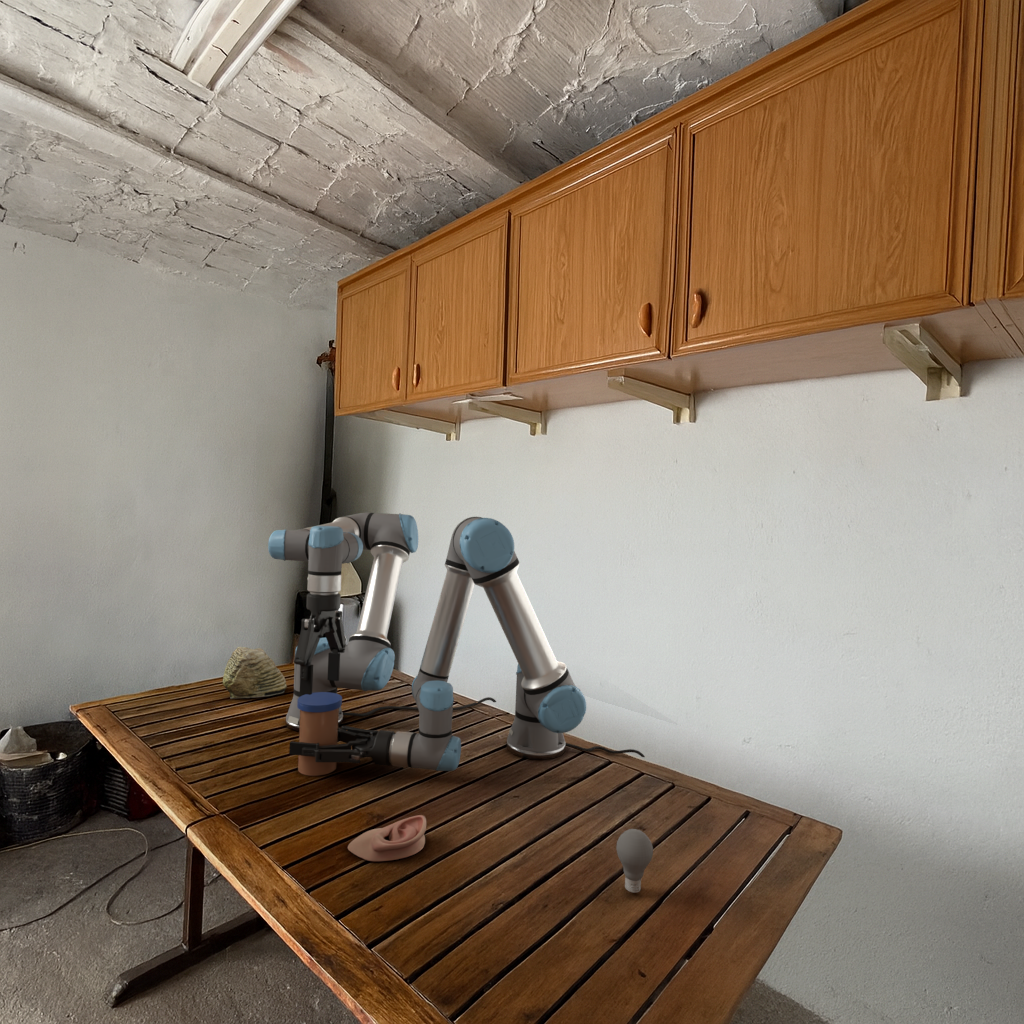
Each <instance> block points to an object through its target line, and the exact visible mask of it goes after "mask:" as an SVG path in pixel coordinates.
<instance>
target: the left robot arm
mask: <svg viewBox="0 0 1024 1024" xmlns="http://www.w3.org/2000/svg"><path fill="white" fill-rule="evenodd" d="M267 546H268V547H267V549H268V553H269V556H270V557H271V558H272V559H274V560H281V561H297V562H307V563H308V567H307V586H306V587H307V589H306V590H307V591H308V593H307V594H306V609H307V610H308V611H310V616H309V618H302V619H301V628H300V633H299V638H298V642H297V645H296V647H295V652H294V653H295V654H294V659H293V664H294V672H293V695H292V696H293V697H292V699H291V702H290V704H289V708H288V711H287V713H286V715H285V726H286V728H287V729H289V730H291V731H294V732H295V731H296V732H299V725H300V709H298V707H297V703H298V698H299V697H300V696H302V695H305V694H309V695H311V694H312V693H315V692H331V693H336V694H338V689H346V690H357V691H364V692H368V691H370V692H371V691H373V692H374V691H375V692H377V691H381V690H383V689H384V688H385V686H387V685H388V683H389V681H390V680H391V677H392V674H393V671H394V667H395V659H396V655H395V651H394V650H393V649H392V648H391V642H390V641H389V639H388V633H389V628H390V625H391V619H392V614H393V610H394V605H395V601H396V595H397V590H398V585H399V581H400V578H401V577H400V576H401V572H402V566H403V564H404V563H406V562H407V561H408V560H409V558H410V554H415V553H416V552H417V551H418V547H419V529H418V524H417V520H416V518H415V517H414V516H413V515H410V514H404V513H387V512H386V513H384V512H360V513H354V514H350V515H345V516H344V515H343V516H340V517H337V518H335V519H334V520H333V521H332V522H328V523H323V524H319V525H314V526H309V527H305V528H299V529H276V530H274V531H273V532H272V533H271V534H270V536H269V538H268V542H267ZM363 550H365V551H370V554H371V555H372V557H373V561H372V565H371V569H370V573H369V577H368V582H367V586H366V589H365V594H364V598H363V603H362V607H361V611H360V616H359V621H358V624H357V629H356V632H355V633H353V634H352V635H350V636H349V638H348V641H347V643H346V637H345V636H346V635H345V629H344V623H343V611H342V610H340V609H341V594H340V592H341V591H342V570H343V569H342V568H343V564H351V563H353V562H354V561H357V560H358V559H360V557H361V555H362V554H363ZM324 636H325V637H324ZM486 701H491V702H493V703H497V700H496V698H493V697H490V696H489V697H484V698H482V699H480V700H478V701H474V702H472V703H468V704H465V705H461V706H456V707H454V706H453V712H454V711H459V710H466V709H468V708H472V707H475V706H478V705H480V704H482V703H484V702H486ZM476 702H478V703H476ZM384 710H402V711H404V710H405V711H406V710H407V711H419V710H418V707H417V706H401V705H400V706H398V705H385V706H380V707H375V708H373V709H371V710H369V711H367V712H363V713H362V712H361V713H357V712H346V711H345V712H343V709H342V706H341V707H339V720H338V727H339V726H340V725H342V723H343V722H344V716H345V717H347V716H348V717H357V718H361V717H362V718H363V717H368V716H370V715H372V714H374V713H377V712H379V711H384Z"/></svg>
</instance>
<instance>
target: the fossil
mask: <svg viewBox="0 0 1024 1024" xmlns="http://www.w3.org/2000/svg"><path fill="white" fill-rule="evenodd" d="M222 676H223V677H222V685H223V687H224V688H225V690H226V691H228V693H229V698H230V699H250V698H264V697H271V696H275V695H281V694H284V693H285V691H286V689H287V687H288V686H287V680H286V678H285V676H284V674H283V673H282V672H281V669H279V668H278V667H277V665H276V663H275V662H274V660H273V659H272V658H271V657H270V656H269V655H268V654H267V653H266V652H265V650H264V649H263V648H260V647H258V648H251V647H247V646H246V647H245V646H238V647H237V648H236V649H235V650H233V651H232V653H231V656H230V657H229V659H228V660H227V663H226V666H225V668H224V671H223V675H222Z"/></svg>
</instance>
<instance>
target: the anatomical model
mask: <svg viewBox="0 0 1024 1024" xmlns="http://www.w3.org/2000/svg"><path fill="white" fill-rule="evenodd" d="M426 830H427V818H426V816H425V815H422V814H419V815H418V814H417V815H413V816H409V817H406V818H403V819H400V820H398V821H396V822H394V823H391V824H389V825H386V826H384V827H379V828H374V829H370V830H367V831H365V832H363V833H362V834H360V835H358V836H357V837H355V838H354V839H352V840H351V841H350V842H349V843H348V845H347V850H348V851H349V852H351V854H353V855H355V856H356V857H358V858H360V859H363V860H365V861H368V862H388V861H394V860H396V861H397V860H399V859H400V860H401V859H405V858H408V857H411V856H413V855H415V854H417V853H419V852H421V850H423V848H424V847H425V844H426V836H425V833H426Z"/></svg>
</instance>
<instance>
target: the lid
mask: <svg viewBox="0 0 1024 1024" xmlns="http://www.w3.org/2000/svg"><path fill="white" fill-rule="evenodd" d="M342 705H343V696H342V695H340V694H339V693H337V694H336V693H331V692H315V693H312V694H311V695H309V694H305V695H302V696H300V697H299V698H298V703H297V707H298V709H300V710H302V711H306V712H327V711H332V710H335V709H338V708H339V707H341V708H342Z"/></svg>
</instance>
